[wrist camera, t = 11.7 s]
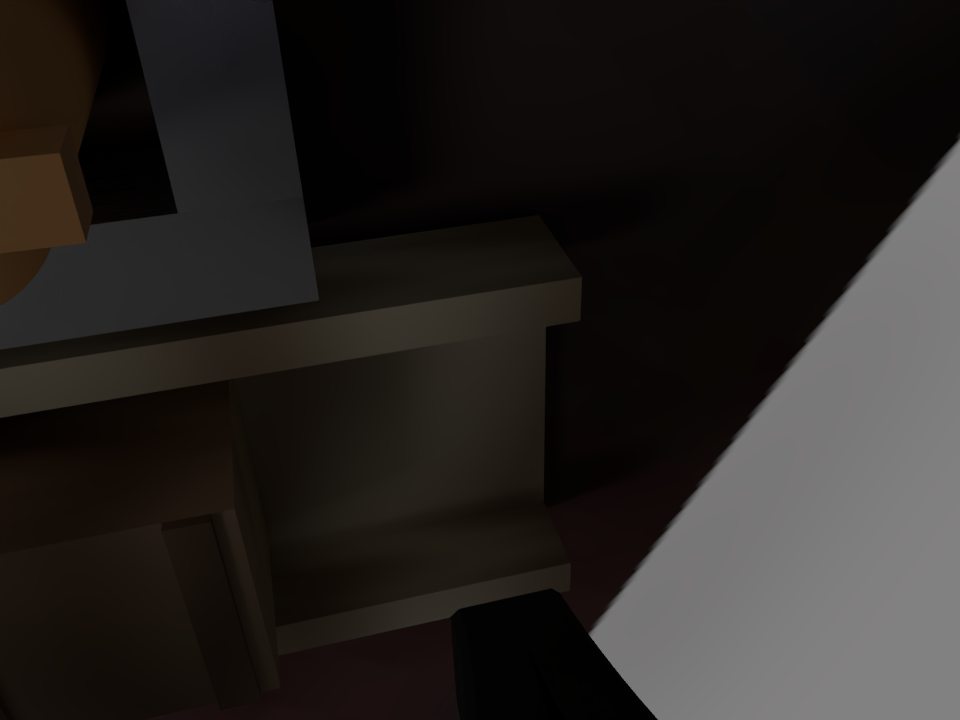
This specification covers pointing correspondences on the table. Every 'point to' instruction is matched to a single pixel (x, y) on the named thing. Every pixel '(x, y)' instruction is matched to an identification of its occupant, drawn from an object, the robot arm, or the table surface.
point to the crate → (133, 560)
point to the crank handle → (44, 129)
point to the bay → (371, 421)
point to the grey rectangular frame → (185, 190)
